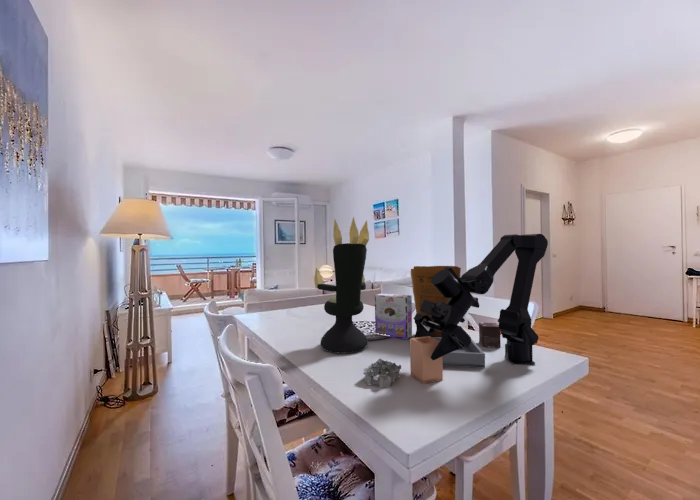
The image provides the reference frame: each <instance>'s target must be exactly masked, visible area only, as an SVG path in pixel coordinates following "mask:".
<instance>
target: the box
mask: <svg viewBox="0 0 700 500" xmlns="http://www.w3.org/2000/svg"><path fill="white" fill-rule="evenodd" d="M478 336H479V337H478V342H479V343H480V345H481V347H483V348H501V331H500V328H499V324H498V323H496V322H479V323H478Z"/></svg>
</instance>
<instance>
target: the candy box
mask: <svg viewBox="0 0 700 500" xmlns="http://www.w3.org/2000/svg"><path fill="white" fill-rule="evenodd" d="M412 300H413V299H412V295H410V294H397V293H381V292H380V293H378V294H377V293H376V294H375V295H374V320H375V321H374V322H375V323H374V325H375V329H374V330H375V331H374V333H379V334H386V335H390V337H389V338H393V339H400V340H406V341H407V340H410V338H413V315H412V313H413V311H412V310H413V309H412V308H413V307H412V305H413V304H412V302H413V301H412Z"/></svg>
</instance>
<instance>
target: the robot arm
mask: <svg viewBox="0 0 700 500" xmlns="http://www.w3.org/2000/svg"><path fill="white" fill-rule="evenodd" d="M548 245H549V241H548V239H547V238H546V236H545V235H544V234H542V233H530V234H529V233H528V234H525V233H524V234H503V235H502V236H501V238H500V239H499V242H498V243H497V244H496V245H495V246H494V247H493V248H492V249H491V251H490V252H489V253H487V255H486V256H485V257H484V258H483V260H482V261H481V262H480V263H479V264H477V265H475V266H473V267H471V268H469V269H468V270H467V271H466V272H465V273H463V274H462V275H460V277H458V276H457V275H456V274H455V272H454V270H453V269H452V268H451V267H445V269H444V270H441V271H439V272H438V273H437V274H434V276H433V277H432V279H431V283H432V284H433V285H434V286H435V288H436V289H437V290H438V291H439V292H440V293H441V294H442V295H443V297H445V298H450V299H449V300H448V301H447V303H444V302H441V301H438V302H437V303H433V302H430V301H427V300H423V302H422V305H421V308H420V311H422V312H426V313H428V314H430V316H429V317H430V318H431V319H433V320H434V321H432V320H431V319H430V318H429V317H428V315H425V314H422V313H417V314H415V316H414V317H413V320H414V324H415V327H416V331H415V334H414V337H413V338H417V337H426V336H430V337H431V336H432V335H431V333H434V332H435V331H439V332H442V339H441V341H440V342H439V344H438V345H437V347H436V349H435V350H434V352H433V353H432V355H431V357H430V358H431V359H432V360H436V359H438V358H440V357H442V356H444V355H446V354H448V353H451V352H453V351H456V350H458V349H463V347H464V348H468V346H469V345H470V344H471V339H472V337H471V336H470V335H469V334H468V333H467V332H466V330H464V328H463V327H462V326H461V325H459V323H463V324H464V323H465V321H466V319H465V318H464V317H465V315H466V314H467V312H468V311H469V310H470V308H471V307H473V308H478V309H479V308H480V302H479V298H478V297H475V296H473V294H477V295H485V294H487V293H488V292H489V290H490V289H491V287H492V285H493V284H494V278H495V274H496V273H497V272H498V271H499V269H501V267H502V266H503V265H504V264H505V262H506V261H507V260H508V259H509V257H510V256H511V255H512V254H513V253H515V256H516V258H517V266H516V272H515V276H514V281H513V286H512V291H511V296H510V301H509V305H508V306H507V307H506V308H505V309H504V308H501V309H500V311H499V317H498V319H497V322H498V325H499V328H500V335H501V337H502V338H503V339H506V343H505V344H504V357H505V359H507V360H508V361H509V362H510V363H511V364H515V365H516V364H517V365H536V362H535V361H534V360H533V359H534V358H533V356H534V355H533V346H534V345H536V344H538V341H539V335H538V334H537V332H536V331H535V330H534V329H533V328H532V318H531V315H530V312H529V309H528V308H529V303H530V299H531V294H532V289H533V283H534V278H535V273H536V269H537V264H538V263H539V262H540V261H541V260H542V258H544V256H545V255H546V252H547V249H548Z"/></svg>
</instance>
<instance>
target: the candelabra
mask: <svg viewBox="0 0 700 500" xmlns="http://www.w3.org/2000/svg"><path fill="white" fill-rule="evenodd" d="M349 227H350V228H349V232H348V233H349V234H348V235H349V243H343V241H342V240H343V238H342V237H343V235H342V233H341V230H340V227H339V225H338V223H337V220H336V219H334V221H333V235H332V236H333V240H334V241H333V242H334V246H333V249H332V255H333V256H332V258H333V266H334V276H335V277H334V278H335V285H334V284H333V285H332V284H328V283H324V281H323V275H322V274H321V273H320V271H319V270H318V268H317V267H316V268H315V270H314V271H315V272H314V277H313V278H314V287H315V289H317V290H321V291H326V292H333V293H334V292H335V295H333V296H332V297H330V298H329V299H328V300H327V301H326V302H325V303H324V305H323V308H324V309H323V310H324V311H325V313H326V314H328V315H330V316H333V317H334V316H335V322H334V324H333V325H332V326H331V327H330V328H329V329H328V330H326V332H325V333H324V334H323V335H322V337H321V338H320V339H321V340H320V343H319V344H320V347H321V348H322V349H323V350H324V351H327V352H328V353H329V352H330V353H336V354H350V353H356V352H360V351H362V350H365V349H366V347H367V346H368V345H369V341H368V338H367V336H366V335H365V333H364V332H363V331H362V330H360V329H359V328H358V327H357V326H356V325H355V323H354V321H353V317H354V316H357V315H360V314H361V313H362V312H363V311H364V304H363V302H362V301H361V292H362V291H365V290H366V289H367V284H366V281H365V275H364V271H365V266H366V259H367V250H368V249H367V244H368V243H369V241H370V232H369V228H368V220H366V221H365V222H364V224H363V225H362V227H361V229H360V231H359V230H358V228H357V227H358V226H357V224H356V221H355V216H353V217H352V220H351V223H350V226H349Z"/></svg>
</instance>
